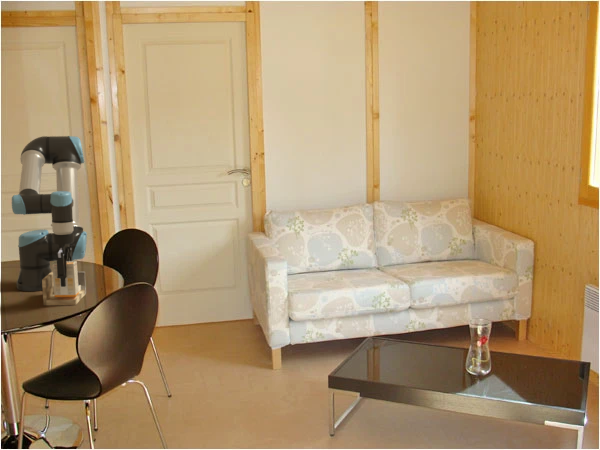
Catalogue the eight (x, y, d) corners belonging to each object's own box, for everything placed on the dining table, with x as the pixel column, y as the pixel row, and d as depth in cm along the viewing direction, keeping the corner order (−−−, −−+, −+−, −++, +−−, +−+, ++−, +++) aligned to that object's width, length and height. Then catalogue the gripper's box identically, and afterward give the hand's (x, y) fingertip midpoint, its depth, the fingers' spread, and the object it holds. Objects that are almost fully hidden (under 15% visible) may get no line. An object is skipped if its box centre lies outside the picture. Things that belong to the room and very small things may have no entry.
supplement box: (79, 293, 270) (77, 260, 267) (75, 297, 265) (74, 263, 263) (57, 293, 270) (55, 260, 267) (53, 297, 265) (51, 263, 262)
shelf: (55, 293, 280) (54, 269, 278) (86, 293, 281) (84, 269, 279) (43, 305, 264) (41, 279, 263) (75, 304, 265) (74, 279, 263)
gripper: (59, 228, 271) (62, 286, 276) (45, 237, 254) (49, 299, 258) (79, 228, 272) (82, 285, 276) (66, 237, 254) (70, 298, 259)
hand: (66, 292), depth 267 cm, fingers closed on supplement box, 5 cm apart
